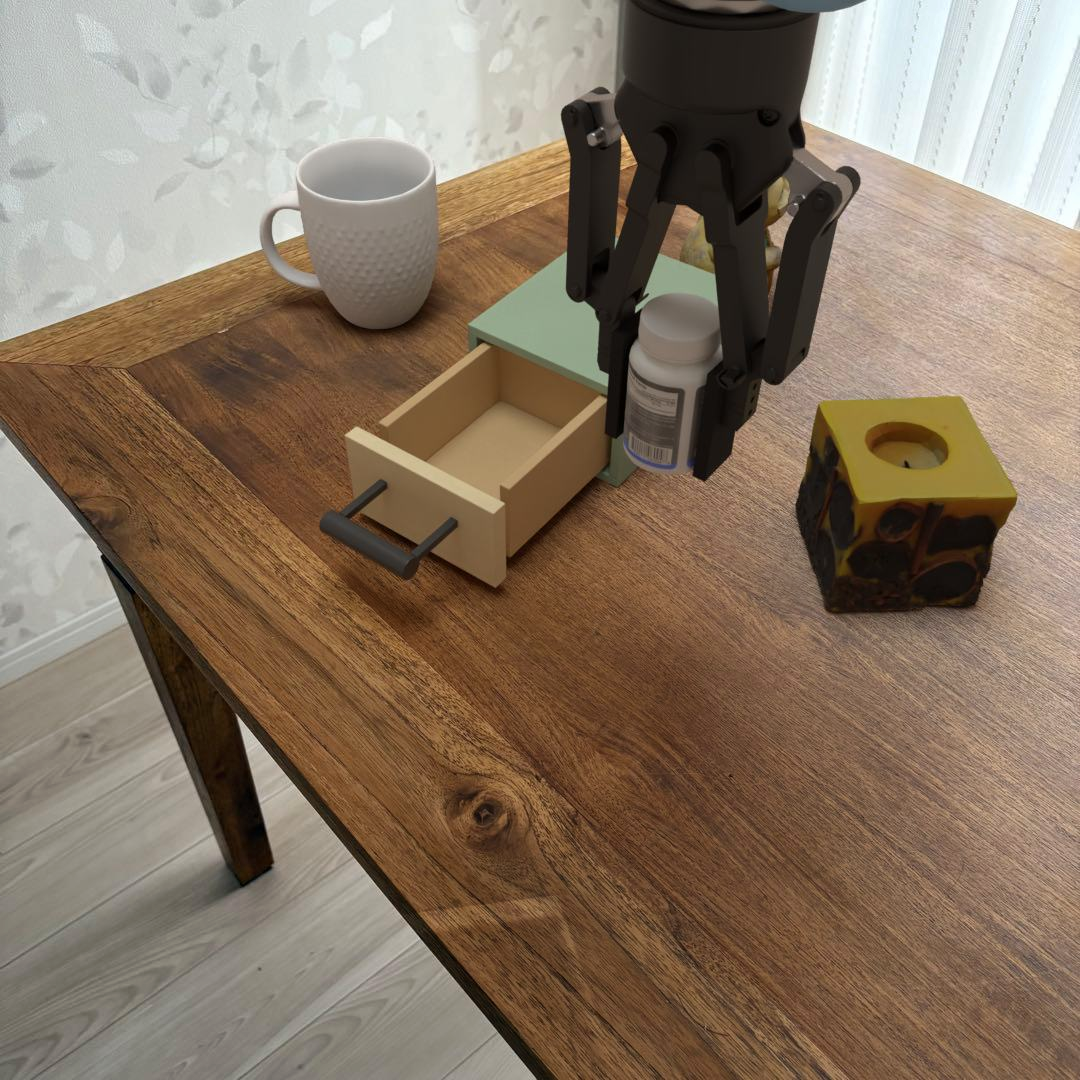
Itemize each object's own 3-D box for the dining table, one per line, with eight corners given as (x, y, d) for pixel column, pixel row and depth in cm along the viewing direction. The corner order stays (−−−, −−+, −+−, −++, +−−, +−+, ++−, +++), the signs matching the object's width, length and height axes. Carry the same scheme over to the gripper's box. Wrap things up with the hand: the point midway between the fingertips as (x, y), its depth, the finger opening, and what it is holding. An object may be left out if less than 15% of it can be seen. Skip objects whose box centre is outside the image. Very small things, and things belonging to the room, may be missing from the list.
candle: (977, 610, 73) (1026, 499, 66) (826, 617, 72) (858, 506, 65) (928, 503, 80) (968, 392, 73) (790, 508, 79) (816, 398, 72)
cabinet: (617, 488, 81) (625, 394, 75) (471, 416, 86) (467, 324, 80) (729, 376, 90) (744, 285, 84) (591, 318, 96) (595, 229, 90)
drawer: (440, 642, 69) (434, 567, 65) (298, 556, 74) (282, 481, 70) (624, 462, 81) (631, 388, 77) (491, 398, 86) (489, 325, 82)
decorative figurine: (781, 328, 95) (814, 163, 84) (687, 336, 94) (708, 170, 83) (750, 268, 102) (777, 107, 91) (662, 274, 101) (679, 113, 90)
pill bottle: (691, 413, 61) (710, 281, 55) (724, 469, 58) (748, 335, 52) (609, 428, 60) (619, 295, 54) (638, 485, 57) (652, 350, 51)
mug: (260, 342, 93) (230, 198, 84) (286, 270, 101) (261, 132, 91) (437, 347, 93) (427, 204, 83) (450, 275, 100) (442, 136, 91)
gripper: (988, 3, 41) (852, 475, 57) (590, -94, 48) (572, 349, 65) (903, 69, 36) (783, 559, 53) (480, -48, 44) (491, 414, 60)
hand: (667, 443), depth 59 cm, fingers closed on pill bottle, 5 cm apart
